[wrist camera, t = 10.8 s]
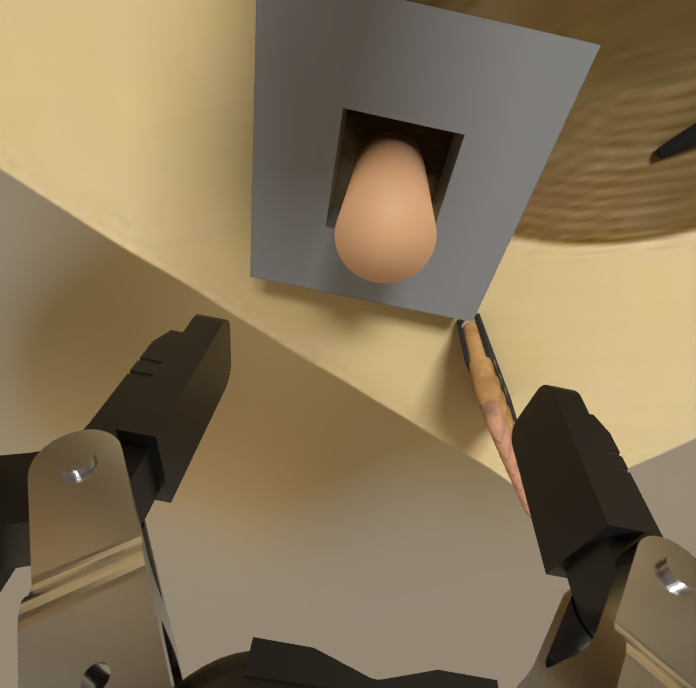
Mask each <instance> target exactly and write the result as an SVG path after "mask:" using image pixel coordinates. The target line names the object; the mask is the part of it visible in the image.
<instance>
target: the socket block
mask: <svg viewBox="0 0 696 688" xmlns="http://www.w3.org/2000/svg"><path fill="white" fill-rule="evenodd" d="M599 48H600V45H598V44H594V43H589V42H585V41H581V40H576V39H572V38H567V37H563V36H559V35H554V34H550V33H546V32H541V31H537V30H533V29H528V28H524V27H520V26H515V25H511V24H506V23H502V22H498V21H493V20H489V19H485V18H480V17H476V16H472V15H467V14H463V13H459V12H454V11H450V10H445V9H441V8H437V7H432V6H428V5H424V4H419V3H415V2H411V1H406V0H256V40H255V86H254V132H253V178H252V224H251V270H250V277H255V278H260V279H265V280H270V281H274V282H279V283H284V284H289V285H294V286H299V287H304V288H309V289H314V290H318V291H323V292H328V293H333V294H338V295H343V296H348V297H353V298H357V299H362V300H367V301H372V302H377V303H382V304H387V305H392V306H396V307H401V308H406V309H411V310H416V311H421V312H426V313H431V314H436V315H440V316H445V317H450V318H455V319H460V320H465V321H470V322H473V319H474V317H475V315H476V313H477V311H478V309H479V307H480V304H481V302H482V300H483V298H484V296H485V294H486V291H487V289H488V287H489V285H490V283H491V281H492V278H493V276H494V274H495V272H496V270H497V268H498V266H499V263H500V261H501V259H502V257H503V255H504V253H505V250H506V248H507V246H508V244H509V242H510V240H511V237H512V235H513V233H514V231H515V229H516V227H517V225H518V222H519V220H520V218H521V216H522V214H523V212H524V209H525V207H526V205H527V203H528V201H529V199H530V196H531V194H532V192H533V190H534V188H535V186H536V184H537V181H538V179H539V177H540V175H541V173H542V171H543V168H544V166H545V164H546V162H547V160H548V158H549V155H550V153H551V151H552V149H553V147H554V145H555V143H556V140H557V138H558V136H559V134H560V132H561V130H562V127H563V125H564V123H565V121H566V119H567V117H568V114H569V112H570V110H571V108H572V106H573V104H574V102H575V99H576V97H577V95H578V93H579V91H580V89H581V86H582V84H583V82H584V80H585V78H586V76H587V73H588V71H589V69H590V67H591V65H592V63H593V61H594V58H595V56H596V54H597V52H598V50H599ZM348 109H350V110H354V111H359V112H363V113H368V114H372V115H377V116H382V117H386V118H391V119H395V120H400V121H404V122H409V123H413V124H418V125H422V126H427V127H432V128H436V129H441V130H445V131H450V132H454V135H453V138H452V141H451V145H450V148H449V151H448V154H447V157H446V161H445V164H444V167H443V170H442V174H441V177H440V180H439V183H438V186H437V190H436V193H435V196H434V199H433V202H432V207H433V213H434V218H435V224H436V230H437V238H436V244H435V248H434V251H433V253H432V255H431V257H430V259H429V261H428V262H427V263H426V265H425V266H424V267H423V268H422V269H421V270H420V271H418V272H417V273H416V274H414V275H413V276H411V277H409V278H407V279H405V280H402V281H399V282H394V283H376V282H371V281H368V280H365V279H363V278H361V277H359V276H357V275H356V274H354V273H353V272H352V271H351V270H349V269H348V268H347V267H346V265H345V264H344V263H343V261H342V260H341V258H340V256H339V254H338V252H337V249H336V245H335V235H334V234H335V226H336V222H337V219H338V216H339V213H340V210H341V209H338V208H333V203H334V196H335V190H336V183H337V176H338V170H339V163H340V157H341V150H342V144H343V137H344V130H345V124H346V117H347V111H348Z"/></svg>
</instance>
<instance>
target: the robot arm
mask: <svg viewBox="0 0 696 688" xmlns="http://www.w3.org/2000/svg"><path fill="white" fill-rule="evenodd" d="M230 349H231V348H230V323H229V321H228V320H225V319H220V318H215V317H210V316H204V315H200V314H198V315H196V316H194V318H193V319H192V320H191V322H190V323H189V325H188V326H187V328H186V329H185V330H184V332H178V331H173V330H171V331H169V332H167V333H166V334H164V335H163V336H161V337H159V338H158V339H156V340H154V341H153V342H152V343H151V344H150V346H149V347H148V348H147V349H146V351H145V352H144V353H143V355H142V356H141V357H140V361H137V362H136V364H135V365H134V366H133V367H132V369H131V370H130V374H127V375H126V376H125V378H124V379H123V380H122V382H121V383H120V384H119V385H118V387H117V388H116V389H115V391H114V392H113V393H112V395H111V396H110V397H109V399H108V400H107V401H106V402H105V404H104V405H103V406H102V407H101V409H100V410H99V411H98V413H97V414H96V415H95V416H94V418H93V419H92V421H91V422H90V423H89V424H88V425H87V426H86V428H84V429H83V430H80V431H75V432H72V433H69V434H66V435H63V436H62V437H59V438H57V439H56V440H54V441H52V442H51V443H49V444H48V445H47V446H45V447H44V448H43V449H42V450H41V451H39V452H33V453H23V454H12V455H1V456H0V592H1V590H2V589H3V587H4V585H5V584H6V582H7V581H8V579H9V578H10V576H11V575H12V573H13V571H14V570H15V568H19V567H24V566H31V581H32V582H31V590H30V593H29V595H28V596H26V597H25V598H24V599H23V600H22V602H21V604H20V608H19V614H18V630H17V632H18V688H498V683H497V680H493V679H486V678H482V677H475V676H470V675H465V674H459V673H453V672H448V671H442V670H434V671H428V672H423V673H417V674H411V675H406V676H400V677H394V678H389V679H382V680H376V679H372V678H369V677H368V676H366V675H364V674H362V673H360V672H358V671H356V670H354V669H353V668H351V667H349V666H347V665H345V664H343V663H341V662H339V661H338V660H336V659H334V658H332V657H330V656H328V655H326V654H324V653H323V652H321V651H319V650H317V649H315V648H311V647H306V646H300V645H295V644H289V643H283V642H278V641H272V640H266V639H261V638H255V637H253V640H252V644H251V649H250V651H246V652H240V653H235V654H232V655H229V656H226V657H223V658H220V659H218V660H215V661H213V662H211V663H209V664H207V665H205V666H203V667H202V668H200V669H198V670H197V671H195V672H194V673H192V674H190V675H189V676H187V677H186V678H185V679H184V677H183V673H182V669H181V665H180V660H179V656H178V652H177V648H176V644H175V640H174V635H173V632H172V628H171V624H170V620H169V617H168V613H167V610H166V606H165V602H164V598H163V593H162V589H161V585H160V580H159V576H158V572H157V568H156V563H155V559H154V555H153V551H152V546H151V542H150V538H149V534H148V529H147V525H146V521H145V518H146V516H147V514H148V512H149V510H150V508H151V506H152V504H153V502H154V500H160V501H165V502H170V503H171V501H172V499H173V497H174V495H175V493H176V491H177V489H178V487H179V485H180V483H181V480H182V478H183V476H184V474H185V472H186V470H187V468H188V466H189V463H190V462H191V460H192V457H193V455H194V453H195V451H196V449H197V447H198V445H199V443H200V441H201V439H202V436H203V434H204V432H205V430H206V428H207V426H208V424H209V422H210V420H211V418H212V416H213V413H214V411H215V409H216V407H217V405H218V403H219V401H220V399H221V397H222V395H223V392H224V390H225V388H226V386H227V383H228V379H229V375H230V368H231V350H230ZM512 447H513V451H514V454H515V458H516V462H517V466H518V469H519V473H520V477H521V481H522V485H523V488H524V492H525V496H526V500H527V504H528V507H529V511H530V515H531V519H532V522H533V526H534V530H535V534H536V537H537V541H538V545H539V549H540V552H541V556H542V561H543V564H544V568H545V572H546V574H548V575H554V576H560V577H565V578H568V582H569V585H570V589H569V590H567V591H566V592H565V594H564V595H563V597H562V600H561V602H560V604H559V607H558V609H557V611H556V614H555V616H554V618H553V621H552V623H551V626H550V628H549V630H548V633H547V635H546V637H545V640H544V642H543V644H542V647H541V649H540V651H539V654H538V656H537V659H536V661H535V663H534V665H533V667H532V669H531V670H530V672H529V673H528V675H527V676H526V677H525V678H524V679H523V680H522V681H521V682H520V684H519V685H518V686H517V688H696V558H695V557H694V556H693V555H691V554H690V553H689V552H688V551H687V550H685V549H684V548H683V547H681V546H680V545H678V544H676V543H675V542H673V541H671V540H669V539H666V538H663V536H662V534H661V532H660V530H659V528H658V527H657V525H656V523H655V521H654V519H653V517H652V515H651V513H650V511H649V509H648V507H647V505H646V503H645V501H644V499H643V497H642V495H641V493H640V491H639V489H638V487H637V485H636V483H635V481H634V479H633V477H632V476H631V474H630V473H628V472H627V470H628V468H627V466H626V464H625V462H624V460H623V458H622V456H619V453H620V452H619V450H618V448H617V446H616V444H615V442H614V440H613V438H612V436H611V434H610V433H609V432H608V430H607V429H606V428H605V427H604V426H603V425H602V424H601V423H600V422H599V421H598V419H597V418H596V417H595V416H594V415H591V414H589V412H588V410H587V408H586V406H585V404H584V402H583V400H582V398H581V396H580V394H579V393H578V392H577V391H574V390H570V389H565V388H560V387H555V386H550V385H543V386H541V387H540V388H539V389H538V390H537V392H536V393H535V394H534V396H533V397H532V399H531V400H530V402H529V403H528V405H527V406H526V407H525V409H524V410H523V412H522V413H521V415H520V416H519V417H518V419H517V420H516V422H515V424H514V426H513V430H512Z"/></svg>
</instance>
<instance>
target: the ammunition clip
mask: <svg viewBox="0 0 696 688" xmlns="http://www.w3.org/2000/svg"><path fill="white" fill-rule="evenodd" d="M457 325H458V330H459V334H460V339H461V344H462V349H463V354H464V359H465V363H466V365H467V368H468V370H469V372H470V375H471V379H472V384H473V388H474V392H475V394H476V396H477V398H478V400H479V404H480V407H481V410H482V414H483V417H484V420H485V423H486V426H487V428H488V430H489V432H490V434H491V436H492V439H493V441H494V444H495V446H496V448H497V450H498V452H499V455H500V457H501V459H502V462H503V464H504V466H505V468H506V471H507V473H508V475H509V477H510V479H511V481H512V484H513V487H514V489H515V491H516V493H517V495H518V498H519V500H520V502H521V504H522V506H523V508H524V510H525V512H526V513H527V514H528V516H529V517H530V518H531V515H530V511H529V507H528V504H527V500H526V496H525V492H524V488H523V485H522V481H521V477H520V473H519V469H518V466H517V462H516V458H515V454H514V451H513V447H512V430H513V426H514V424H515V422H516V420H517V417H516V414H515V411H514V407H513V404H512V401H511V398H510V395H509V392H508V390H507V387H506V384H505V382H504V379H503V376H502V373H501V371H500V368H499V365H498V363H497V360H496V357H495V355H494V352H493V349H492V346H491V344H490V341H489V338H488V336H487V333H486V330H485V328H484V325H483V322H482V319H481V317H480V314H478V313H477V314H476V315H475V317H474V319H473V322H470V321H465V320H460V319H459V320H457Z"/></svg>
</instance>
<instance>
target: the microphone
mask: <svg viewBox="0 0 696 688" xmlns="http://www.w3.org/2000/svg"><path fill="white" fill-rule="evenodd" d="M693 146H696V123H695V124H694V125H692V126H691V127H689V128H688V129H686V130H685V131H683V132H682V133H680V134H679V135H677V136H676V137H674V138H673V139H671V140H670V141H668V142H667V143H665V144H664V145H662V146H661V147H659V148H658V149H657V153H658V155H659V157H660V158H664V157H666V156H669V155H672V154H674V153H677V152H680V151H682V150H685V149H688V148H690V147H693Z"/></svg>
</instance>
